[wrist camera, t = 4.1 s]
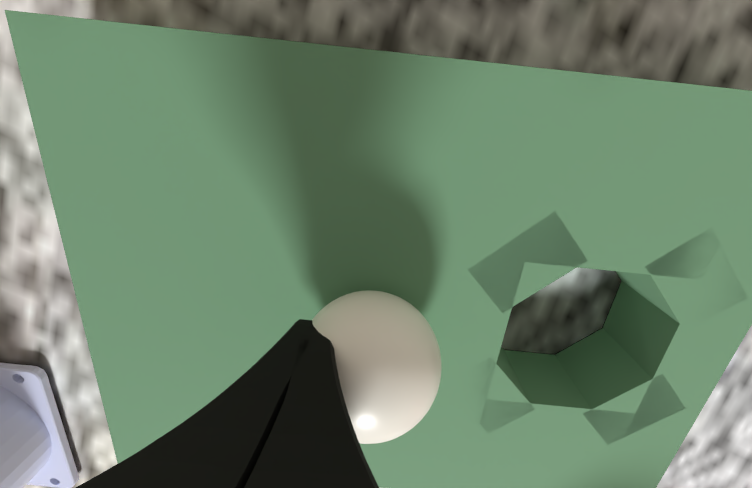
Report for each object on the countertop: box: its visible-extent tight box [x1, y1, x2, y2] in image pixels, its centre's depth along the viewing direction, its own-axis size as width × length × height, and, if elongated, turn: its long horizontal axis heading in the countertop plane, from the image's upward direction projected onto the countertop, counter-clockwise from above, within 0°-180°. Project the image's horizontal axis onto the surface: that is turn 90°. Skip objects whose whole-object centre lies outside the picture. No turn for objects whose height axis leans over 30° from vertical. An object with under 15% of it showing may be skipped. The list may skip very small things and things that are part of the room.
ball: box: [312, 290, 441, 444], centre depth 10 cm, size 4×4×4 cm
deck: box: [5, 10, 752, 488], centre depth 13 cm, size 22×16×3 cm
